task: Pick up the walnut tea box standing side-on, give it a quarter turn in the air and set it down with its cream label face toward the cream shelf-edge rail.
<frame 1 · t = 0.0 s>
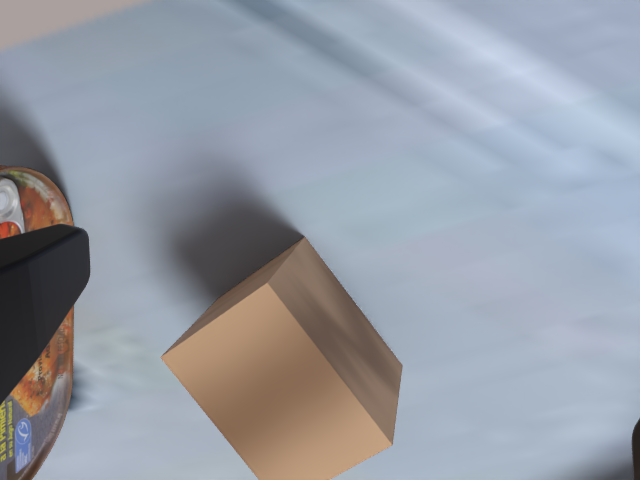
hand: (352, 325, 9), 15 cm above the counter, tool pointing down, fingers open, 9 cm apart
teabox: (309, 330, 27), on the counter
tin: (47, 304, 29), on the counter
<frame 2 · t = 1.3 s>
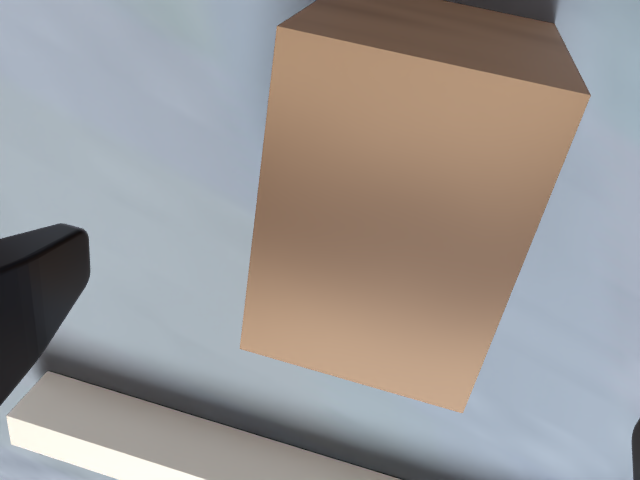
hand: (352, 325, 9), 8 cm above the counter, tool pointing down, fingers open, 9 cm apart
rail: (329, 471, 24), on the counter
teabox: (414, 136, 16), on the counter
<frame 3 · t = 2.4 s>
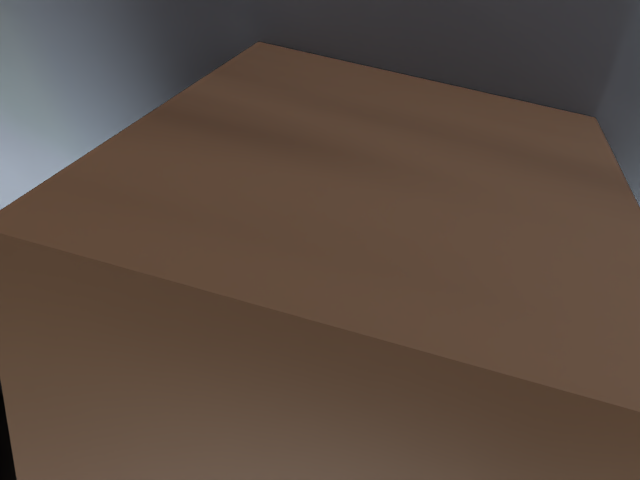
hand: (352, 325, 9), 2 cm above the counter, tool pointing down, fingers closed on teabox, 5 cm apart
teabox: (372, 273, 11), on the counter, touching gripper
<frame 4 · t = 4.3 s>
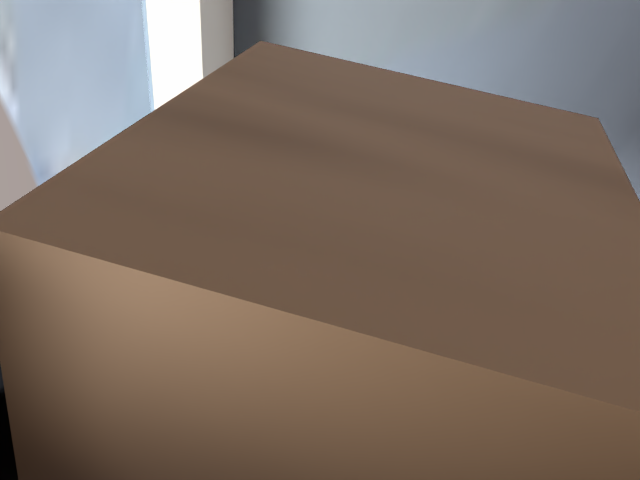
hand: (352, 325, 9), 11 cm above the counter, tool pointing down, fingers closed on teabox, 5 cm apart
rail: (211, 89, 20), on the counter
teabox: (374, 273, 11), point 10 cm above the counter, touching gripper
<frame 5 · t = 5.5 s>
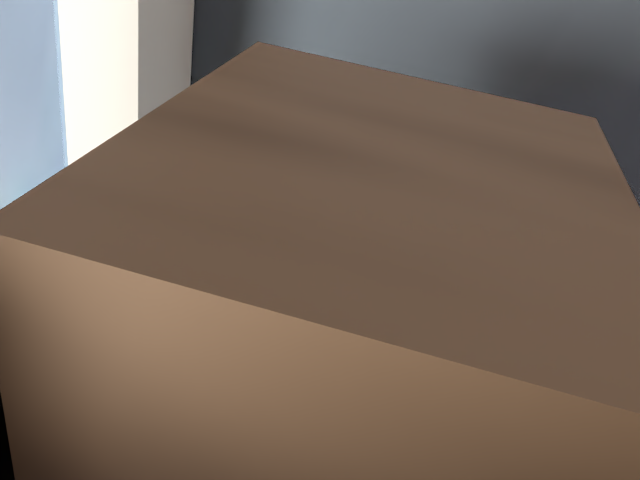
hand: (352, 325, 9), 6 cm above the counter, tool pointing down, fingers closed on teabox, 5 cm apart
rail: (157, 127, 15), on the counter
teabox: (372, 273, 11), point 4 cm above the counter, touching gripper
when the fingers open (2 cm above the counter, at t = 6.5 s): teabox drops 1 cm, on the counter.
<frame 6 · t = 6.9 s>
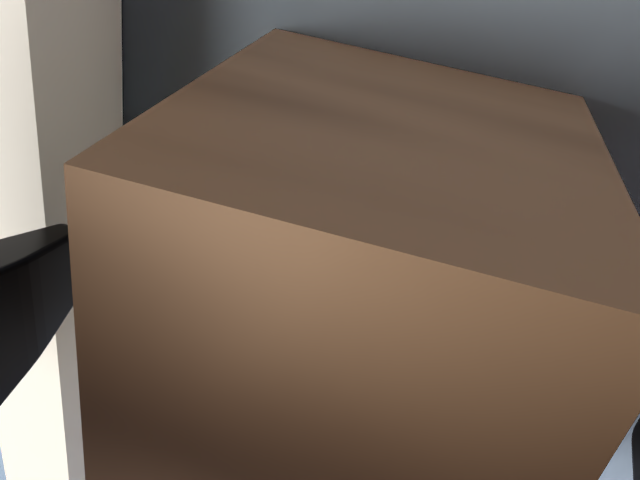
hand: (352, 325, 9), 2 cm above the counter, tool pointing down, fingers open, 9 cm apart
rail: (86, 172, 12), on the counter
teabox: (379, 242, 12), on the counter
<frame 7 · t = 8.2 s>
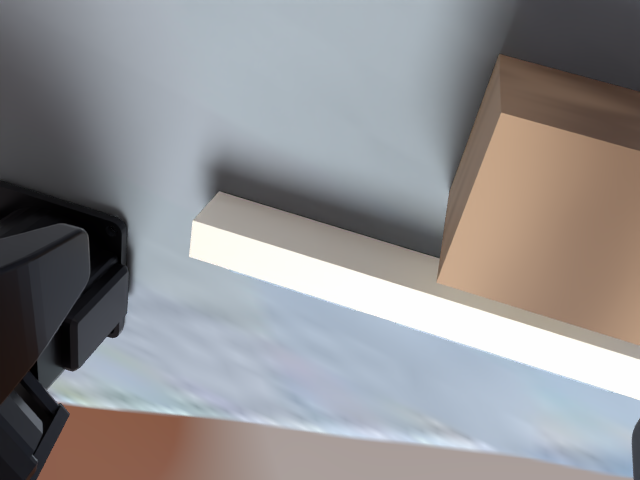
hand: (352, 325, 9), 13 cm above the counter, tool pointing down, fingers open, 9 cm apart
rail: (511, 299, 23), on the counter
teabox: (576, 155, 20), on the counter
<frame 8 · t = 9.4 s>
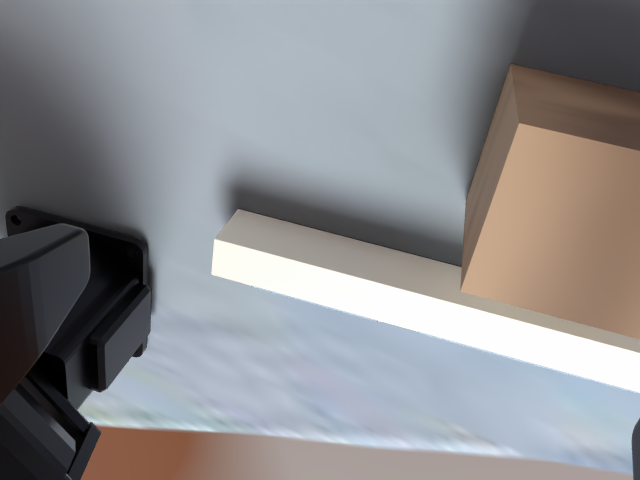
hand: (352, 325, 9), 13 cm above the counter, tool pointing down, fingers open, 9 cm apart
rail: (531, 304, 23), on the counter
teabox: (590, 160, 20), on the counter
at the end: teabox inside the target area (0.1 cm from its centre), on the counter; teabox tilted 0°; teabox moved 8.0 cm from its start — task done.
